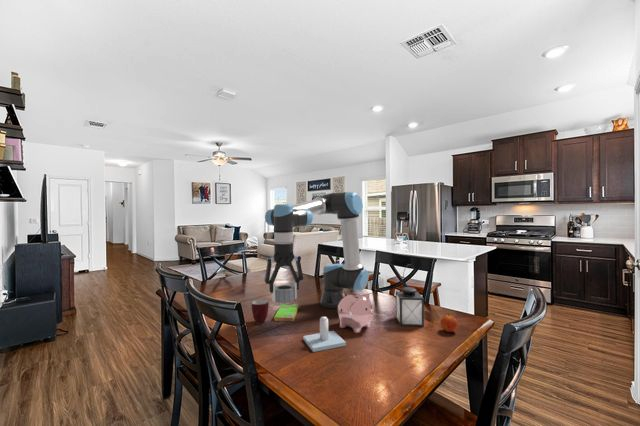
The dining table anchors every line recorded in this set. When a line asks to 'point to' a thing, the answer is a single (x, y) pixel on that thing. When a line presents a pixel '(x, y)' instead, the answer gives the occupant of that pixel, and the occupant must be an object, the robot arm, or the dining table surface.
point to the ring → (284, 293)
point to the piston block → (324, 338)
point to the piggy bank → (355, 311)
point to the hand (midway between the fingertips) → (284, 299)
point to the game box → (286, 312)
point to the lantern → (409, 307)
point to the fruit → (449, 323)
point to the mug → (260, 310)
